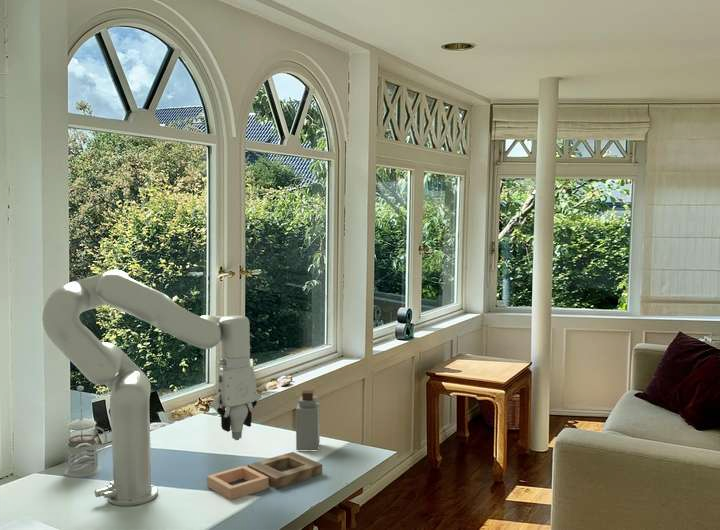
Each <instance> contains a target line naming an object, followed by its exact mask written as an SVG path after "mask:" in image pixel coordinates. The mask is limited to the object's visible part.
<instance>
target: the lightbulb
mask: <svg viewBox="0 0 720 530" xmlns="http://www.w3.org/2000/svg"><path fill="white" fill-rule="evenodd" d="M247 414H248V408H247V405H246V404H244V405H239V406H234V407H231V408H230V411H229V415H228V416H229V417H230V431H231V438H232V439H234V441H239V440H240V439H242V433H243V429H244V424H243V423H244V421H245V419H246V417H247Z"/></svg>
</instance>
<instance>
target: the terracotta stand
mask: <svg viewBox="0 0 720 530" xmlns="http://www.w3.org/2000/svg"><path fill="white" fill-rule="evenodd" d="M242 478H243V480H245V481H244V482H240V483H237V484H233V485H231V484H229V483H232V482H235V481H239V479H240V480H242ZM206 487H207V488H208V489H210V490H212V491H214V492H215V493H217V494H219V495H221V496H222V497H224V498H226V499H227V500H230V501H231V500H236V499H238V498H243V497H245V496H249V495H250V494H255V493H257V492H261V491H264V490H267V489H269V488H270V486H269V477H267V476H265V475H263V474H261V473H259V472H257V471H255V470H253V469H251V468H249V467H248V466H247V465H245V464H244V465H242V466H238V467H234V468H230V469H227V470H223V471H221V472H220V471H219V472H216V473H213V474H210V475H209V474H208V475H206Z"/></svg>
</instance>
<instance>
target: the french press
mask: <svg viewBox="0 0 720 530" xmlns="http://www.w3.org/2000/svg"><path fill="white" fill-rule="evenodd" d="M76 391H78V392H79V396H80V398H79V399H80V401H79V403H80V404H82V391H84V386H82V385H79V386H77V388H76ZM82 415H83V414H82V410H80V418H77V419H74V420H72V421H70V422H68V423H67V424H66V429H68V430H71V431H81V433H80V434H76V435H73V436H72V437H69V438H68V442H69V443H68V444H67V458H68V459H67V460H68V461H67V463H68V465H67V466H68V468H67V470H65V472H64V474H65V476H67V477H70V478H85V477H89V476H93V475H95V474H98V473H99V472H101V470H100V469H102V468H101V467H100V466H99V464H98V461H99V460H98V458H99V456H98V454H99V453H100V452H102V451H103V450H104V449H105V447H106V446H107V442H108V435H107V433H106V432H105V430H104V429H103V428H102V427H99V426H98V425H97V421H95V420H93V419H90V418H82V417H83V416H82ZM93 428H94V432H95V433H97V432H98V430H100V431H102V432H103V433H104V443H103V445H102V446H101V447H100V448H99V449H97V441H96V440H95V439H96V436H95V435H94V434H90V433H89V434H83V431H85V430H89V429H93ZM81 444H82V445H81ZM89 444H90V445H89Z"/></svg>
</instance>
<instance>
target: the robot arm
mask: <svg viewBox="0 0 720 530" xmlns="http://www.w3.org/2000/svg"><path fill="white" fill-rule="evenodd" d="M106 305H108V306H110V307H112V308H114V309H116V310H119V311H121V312H123V313H126V314H128V315H130V316H132V317H135V318H136V319H139V320H141V321H144V322H146V323H148V324H149V325H152V326H153V327H155V328H157V329H158V330H161V331H163V332H165V333H167V334H168V335H170V336H171V337H173V338H175V339H177V340H180V341H182V342H184V343H187V344H189V345H191V346H194V347H195V348H199V349H203V350H209V349H212V348H214V347H216V346H217V345H218V344H219V342H220V343H221V344H220V347H221V348H220V350H221V353H220V354H221V355H220V356H221V357H220V360H217V365H218V366H221V367H219V371H218V376H217V383H216V396H215V397H214V398H213V400H212V401H211V402H210V405H209V406H210V408H211V409H213V410H215V412H216V413H217V414H218V415H219V416H220V421H221V422H220V426H221V428H222V430H223V431H225V432H227V433H228V432H230V431H231V426H230V417H229V416H228V415H229V411H230V408H231V407H234V406H239V405H244V404H246V405H247V408H248V414H247V417H246V419H245V421H244V423H243V426H246V427H248V428H249V427H252V420H253V419H252V416H253V414H252V412H253V411H254V408H255V406H257V404H258V402H259V401H260V399H261V398H262V395H261V393H259V392H258V391H257V390H258V389H257V382H256V374H255V370H254V366H253V365H251V352H250V351H251V349H250V348H251V347H250V346H251V345H250V344H251V343H250V341H251V340H250V339H251V337H250V336H251V334H250V329H251V328H250V320H249V318H248V317H247V316H245V315H227V316H220V315H219V316H218V315H212V314H211V315H210V314H209V315H208V314H204V315H201V316H200V315H198V314H195V313H193V312H191V311H189V310H187V309H186V308H184V307H183V306H180V305H179V304H177V302H175V301H174V300H173V299H172V298H170V296H168V295H167V294H165V293H164V292H161V291H159V290H158V289H154V288H153V287H150V286H148V285H146V284H143V283H141V282H139V281H137V280H135V279H133V278H131V277H130V276H129V274H128V273H127V272H125V271H123V270H119V269H112V270H109V271H106V272H103V273H98V274H96V275H92V276H87V277H85V278H81V279H78V280H74V281H70V282H68V283H65V284H63V285H61V286H60V287H58V288H57V289H54V291H53V292H52V293H51V294H50V295H49V297H48V298H47V300H46V302H45V304H44V308H43V309H42V310H43V311H42V318H41V319H42V326H43V329H44V332H45V334H46V335H47V337H48V338H49V340H50V341H51V342H52V343H53V344H54V345H55V347H57V349H59V351H60V352H62V354H63V355H64V356H65V357H66V358H67V359H68V360H69V361H70V362H71V363H72V364H73V365H74V366H75V367H76V368H77V370H79V372H80V373H81V374H82V375H83V376H84V377H85V378H86V379H87V380H88V381H89V382H90V383H92V384H94V385H97V386H102V385H105V386H106V388H108V390H110V391H111V392H110V397H109V411H110V412H109V413H110V422H111V441H112V442H111V445H112V446H111V447H112V449H111V450H112V477H113V478H112V480H110V481H109V485H106V487H103V488H102V487H101V488H98V489H95V490H94V496H95V498H99V497H103V498H104V499H107V501H108V502H109V503H110V504H113V505H116V506H122V507H124V506H125V507H126V506H137V505H142V504H145V503H147V502H151V501H152V500H153V499H154V500H155V498H156V497H157V496H158V494H159V493H158V492H159V491H158V488H157V486H155V485H153V484H152V452H151V451H152V449H151V426H150V425H151V423H150V422H151V421H150V396H151V390H152V389H151V387H152V386H151V382H150V379H149V378H148V376H147V375H146V374H145V372H144V371H143V370H141V368H140V367H139V366H138V365H137V364H136V363H135V362H134V361H133V360H132V359H131V358H130V357H129V356H128V355H127V354H126V352H124V351H123V350H122V349H121V347H119V346H118V345H116V344H114V343H112V342H109V341H108V342H104V341H103V342H102V341H101V340H99V339H98V337H97V336H96V335H95V334H94V332H92V331H91V330H90V329H89V328H88V327H87V326H86V325H84V324H83V323H82V321H81V320H80V315H81V314H82V313H83V312H86V311H90V310H93V309H96V308H100V307H103V306H106ZM219 405H221V406H219Z"/></svg>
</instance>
